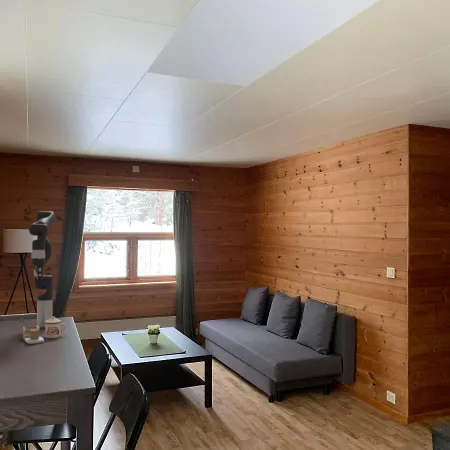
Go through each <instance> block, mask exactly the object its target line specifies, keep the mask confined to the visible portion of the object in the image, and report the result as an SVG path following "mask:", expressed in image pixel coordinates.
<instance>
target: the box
mask: <svg viewBox="0 0 450 450" xmlns="http://www.w3.org/2000/svg"><path fill="white" fill-rule="evenodd" d="M40 328H41V327H38V326H37V325H35V326H34V325H33V326H23V327H22V338H23V340H24V341H25V338H30V330H32V329H38V330H39V337H41V331H40V330H41V329H40Z"/></svg>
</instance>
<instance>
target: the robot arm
mask: <svg viewBox="0 0 450 450" xmlns="http://www.w3.org/2000/svg"><path fill="white" fill-rule="evenodd" d="M55 221H56V215H55V212H54V211H50V210H38V211H37V214H36V222H32V223H31V224H30V225H29V227H28V232H29V234H30V235H31V236H35V237H36V239H33V240H32V242H31V245H32V246H31V256H30V257H31V260H30V261H31V263H30V264H31V266H34V267H33V278H34V286H35V289H36V290H45V292H43V293H42V294H39V295H38V296H36V297H37V298H36V299H37V302H36V303H37V306H36V307H37V309H36V326H38V327H39V328H45V321H47V320H49V319H51V317H53V296H54V276H53V275H50V274H43V271H44V268H45V266H46V264H47V263H48V261H49V260H50V258H51V256H52V252H53V250H52V247H53V246H52V243H51V241H50V239H49V238H48V236H47V235H48V234H49V233H48V232H49V227H50V226H52V225H54V224H55V223H56V222H55Z"/></svg>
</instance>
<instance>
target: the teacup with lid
mask: <svg viewBox="0 0 450 450" xmlns="http://www.w3.org/2000/svg"><path fill="white" fill-rule="evenodd" d="M62 326H64V329H63V330H62V329H61V327H62ZM66 330H67V325H66V324H65V323H63V322H62V320H61V319H58V318H56V317H55V316H52V317H51V319H49V320H47V321H45V327H44V332H45V333H44V337H45V338H46V339H56V338H59V337H61V336H62V335H61V334H62V333H64V332H65V331H66Z"/></svg>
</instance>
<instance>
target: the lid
mask: <svg viewBox="0 0 450 450" xmlns="http://www.w3.org/2000/svg"><path fill="white" fill-rule="evenodd" d="M24 341H25V342H26V343H27V344H29V345H32V344H33V345H34V344H41V343H43V342H45V339H44V338H43V336H40V337H39V330H38V329H32V330H30V338H25V340H24Z"/></svg>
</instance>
